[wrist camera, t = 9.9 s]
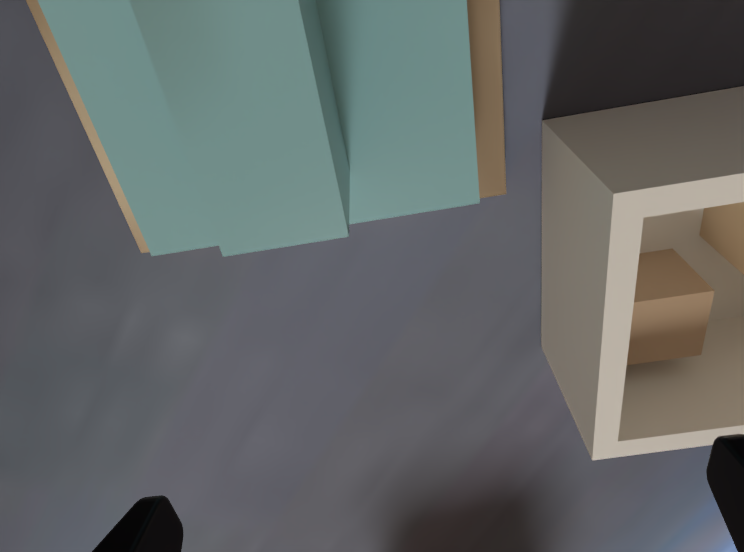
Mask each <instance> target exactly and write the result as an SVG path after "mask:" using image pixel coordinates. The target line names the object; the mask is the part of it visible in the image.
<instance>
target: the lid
mask: <svg viewBox="0 0 744 552" xmlns="http://www.w3.org/2000/svg"><path fill="white" fill-rule="evenodd" d="M38 3H39V5H40V7H41V9H42V11H43V14H44V16H45V18H46V20H47V23H48V25H49V27H50V29H51V32H52V34H53V36H54V38H55V41H56V43H57V45H58V47H59V50H60V52H61V54H62V56H63V58H64V61H65V63H66V65H67V67H68V70H69V72H70V74H71V76H72V79H73V81H74V83H75V85H76V88H77V90H78V92H79V94H80V97H81V99H82V101H83V103H84V105H85V108H86V110H87V112H88V114H89V117H90V119H91V121H92V123H93V126H94V128H95V130H96V132H97V135H98V137H99V139H100V141H101V144H102V146H103V148H104V150H105V152H106V155H107V157H108V159H109V161H110V164H111V166H112V168H113V170H114V173H115V175H116V177H117V179H118V182H119V184H120V186H121V188H122V191H123V193H124V195H125V197H126V199H127V202H128V204H129V206H130V208H131V211H132V213H133V215H134V217H135V220H136V222H137V224H138V226H139V229H140V231H141V233H142V235H143V238H144V240H145V242H146V244H147V246H148V249H149V251H150V253H151V255H152V256H156V255H162V254H169V253H175V252H181V251H187V250H193V249H200V248H206V247H212V246H218V245H219V247H220V250H221V253H222V256H223V257H225V256H231V255H237V254H243V253H250V252H256V251H262V250H268V249H275V248H281V247H287V246H293V245H299V244H306V243H312V242H318V241H324V240H331V239H337V238H343V237H349V224H354V223H360V222H366V221H373V220H379V219H385V218H391V217H397V216H403V215H410V214H416V213H422V212H428V211H434V210H440V209H447V208H453V207H459V206H465V205H471V204H478V203H480V197H479V182H478V167H477V151H476V136H475V120H474V105H473V89H472V74H471V59H470V43H469V28H468V12H467V0H38Z"/></svg>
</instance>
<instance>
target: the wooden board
mask: <svg viewBox="0 0 744 552" xmlns="http://www.w3.org/2000/svg"><path fill="white" fill-rule="evenodd" d="M26 1H27V4H28V6H29V8H30V10H31V12H32V15H33V17H34V19H35V21H36V23H37V26H38V28H39V30H40V32H41V34H42V36H43V39H44V41H45V43H46V45H47V47H48V50H49V52H50V54H51V56H52V58H53V61H54V63H55V65H56V67H57V69H58V72H59V74H60V76H61V78H62V80H63V82H64V85H65V87H66V89H67V91H68V93H69V96H70V98H71V100H72V102H73V104H74V107H75V109H76V111H77V113H78V115H79V118H80V120H81V122H82V124H83V126H84V128H85V131H86V133H87V135H88V137H89V139H90V142H91V144H92V146H93V148H94V150H95V153H96V155H97V157H98V159H99V161H100V163H101V166H102V168H103V170H104V172H105V174H106V177H107V179H108V181H109V183H110V185H111V188H112V190H113V192H114V194H115V196H116V199H117V201H118V203H119V205H120V207H121V209H122V212H123V214H124V216H125V218H126V220H127V223H128V225H129V227H130V229H131V231H132V234H133V236H134V238H135V240H136V242H137V245H138V247H139V249H140V251H141V253H145V252H150V251H149V249H148V246H147V244H146V242H145V240H144V238H143V235H142V233H141V231H140V229H139V226H138V224H137V222H136V220H135V217H134V215H133V213H132V211H131V208H130V206H129V204H128V202H127V199H126V197H125V195H124V193H123V191H122V188H121V186H120V184H119V182H118V179H117V177H116V175H115V173H114V170H113V168H112V166H111V164H110V161H109V159H108V157H107V155H106V152H105V150H104V148H103V146H102V144H101V141H100V139H99V137H98V135H97V132H96V130H95V128H94V126H93V123H92V121H91V119H90V117H89V114H88V112H87V110H86V108H85V105H84V103H83V101H82V99H81V97H80V94H79V92H78V90H77V88H76V85H75V83H74V81H73V79H72V76H71V74H70V72H69V70H68V67H67V65H66V63H65V61H64V58H63V56H62V54H61V52H60V50H59V47H58V45H57V43H56V41H55V38H54V36H53V34H52V32H51V29H50V27H49V25H48V23H47V20H46V18H45V16H44V14H43V11H42V9H41V7H40V5H39V3H38V0H26ZM467 12H468V28H469V43H470V59H471V74H472V89H473V105H474V120H475V136H476V151H477V167H478V182H479V197H480V198H485V197H491V196H497V195H503V194H506V174H505V146H504V118H503V89H502V61H501V33H500V4H499V0H467Z"/></svg>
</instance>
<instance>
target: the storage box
mask: <svg viewBox="0 0 744 552" xmlns="http://www.w3.org/2000/svg"><path fill="white" fill-rule="evenodd" d="M541 347H542V349H543V351H544V354H545V356H546V358H547V360H548V363H549V365H550V367H551V369H552V372H553V374H554V376H555V378H556V381H557V383H558V385H559V387H560V389H561V392H562V394H563V396H564V398H565V401H566V403H567V405H568V407H569V410H570V412H571V414H572V416H573V419H574V421H575V423H576V425H577V428H578V430H579V432H580V434H581V436H582V439H583V441H584V443H585V445H586V448H587V450H588V452H589V454H590V457H591V459H592V460H599V459H607V458H614V457H622V456H630V455H638V454H645V453H653V452H661V451H668V450H676V449H684V448H692V447H699V446H707V445H713V442H714V440H715V439H716V438H717V437H718V436H724V435H734V434H744V86H741V87H735V88H729V89H724V90H718V91H712V92H706V93H700V94H694V95H688V96H682V97H676V98H671V99H665V100H659V101H653V102H647V103H641V104H635V105H629V106H624V107H618V108H612V109H606V110H600V111H594V112H588V113H582V114H576V115H571V116H565V117H559V118H553V119H547V120H542V297H541Z"/></svg>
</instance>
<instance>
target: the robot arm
mask: <svg viewBox="0 0 744 552" xmlns="http://www.w3.org/2000/svg"><path fill="white" fill-rule="evenodd" d="M707 480H708V483H709V486H710V488H711V491H712V493H713V495H714V498H715V500H716V502H717V504H718V507H719V509H720V511H721V514H722V516H723V518H724V521H725V523H726V525H727V528H728V530H729V532H730V535H731V537H732V539H733V541H734V544H735V546H736V548H737V551H738V552H744V434H734V435H724V436H718V437H717V438H716V439H715V440H714V442H713V446H712V450H711V454H710V458H709V462H708V466H707ZM182 542H183V527H182V523H181V521H180V519H179V518H178V516H177V514H176V512H175V510H174V508H173V507H172V505H171V503H170V501H169V500H168V498H167V497H165V496H152V497H145V498H142V499H140V500H139V501H137V502H136V503H135V504H134V505H133V507H132V508H131V509H130V510H129V511H128V512H127V513H126V514H125V515H124V517H123V518H122V519H121V520H120V521H119V522H118V523H117V524H116V525H115V527H114V528H113V529H112V530H111V531H110V532H109V533H108V534H107V535H106V537H105V538H104V539H103V540H102V541H101V542H100V543H99V544H98V545H97V547H96V548H95V549H94V550H93V551H92V552H181V549H182Z"/></svg>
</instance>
